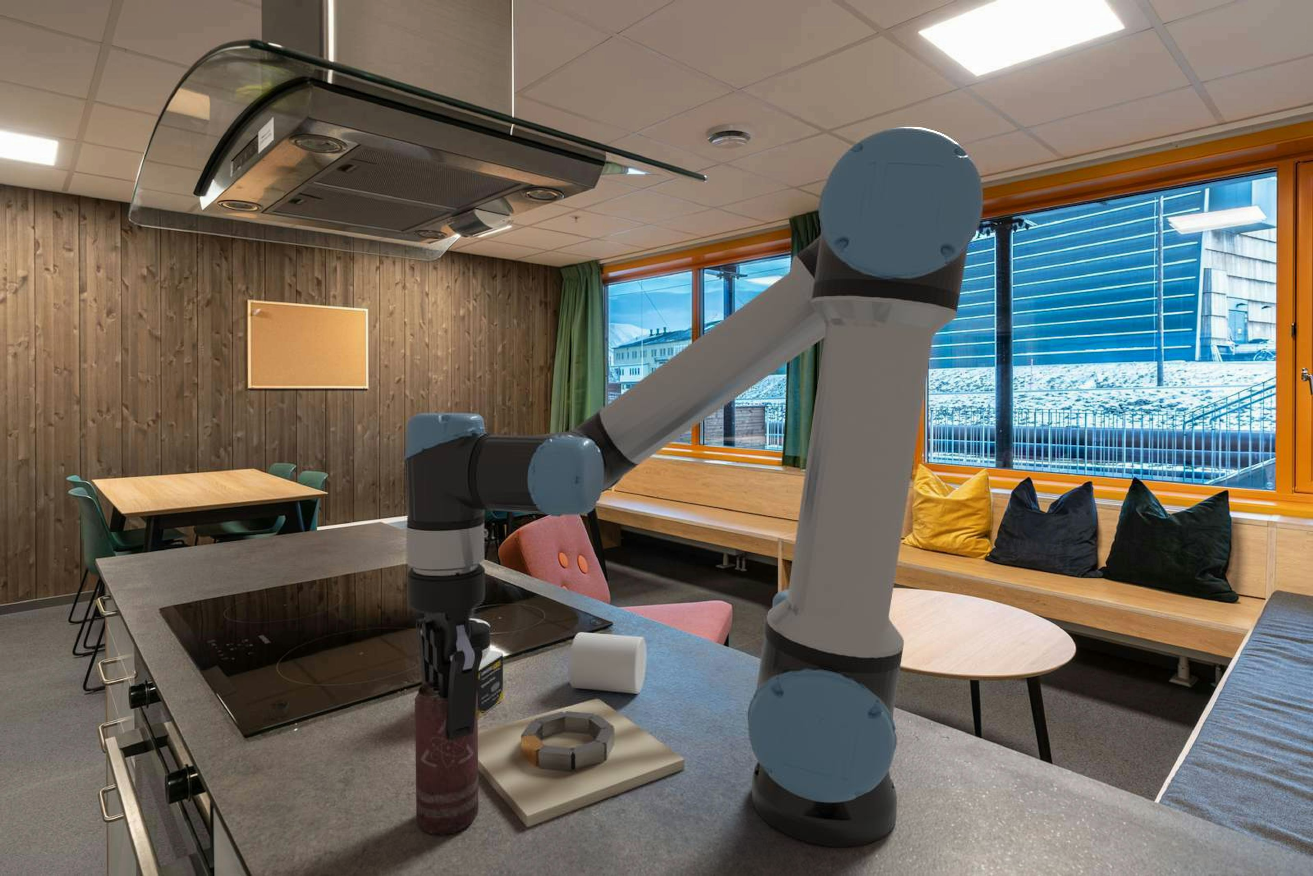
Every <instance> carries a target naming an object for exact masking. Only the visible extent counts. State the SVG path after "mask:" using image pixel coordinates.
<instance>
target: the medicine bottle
mask: <svg viewBox="0 0 1313 876" xmlns="http://www.w3.org/2000/svg"><path fill="white" fill-rule="evenodd" d="M469 620H470V623H471V625H472V630H473V638H472V640H471V642H470V645H471V647H472V648H476V647H480V648H481V650H482V660H481V663H480V667H479V671H478V683H477V693H478V720H479V719H480V718H482V717H483V716H484V715H485V714H487V713H488V712H489V711H491V710H492V709H493V708H495V707H496V706H497V705H498V704H500V703H501V702H502V701H504V653H503V652H502V651H497V650H491V625H490V624H489V623H488V622H487V621H485V620H482V619H480V618H469Z"/></svg>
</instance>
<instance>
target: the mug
mask: <svg viewBox="0 0 1313 876" xmlns="http://www.w3.org/2000/svg"><path fill="white" fill-rule="evenodd" d="M647 651H648V650H647V644H646V640H645V637H643V636H632V635H621V634H619V635H618V634H608V633H607V634H606V633H594V632H593V633H592V632H582V631H580V632H578V633H577V634H575V636H574V638H573V640H572V643H571V646H570V650H569V657H568V681H569V684H570V686H571V687H572V688H574V689H581V690H582V689H585V690H592V691H603V692H604V691H605V692H614V693H615V692H616V693H624V694H625V693H626V694H636V695H637V694H639V693H640V692H641V691H642V689H643V686H644V682H645V678H646V672H647V671H646V670H647V656H648V655H647V653H648V652H647Z"/></svg>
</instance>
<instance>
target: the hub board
mask: <svg viewBox="0 0 1313 876" xmlns="http://www.w3.org/2000/svg"><path fill="white" fill-rule="evenodd" d="M566 711H571V712H582V713H593V714H595V715H599V716H600V717H602V718H603V719H605V720H606V721H607V722H609V723H610V724H611V725H613V726H614V746H613V748H612V750H611V752H610V754H609V756H608V759H607V760H604V762H602V763H599V764H596V765H593V766H590V767H587V768H584V769H581V770H578V771H574V770H573V769H572V771H571V772H566V771H557V770H547V769H539V766H538V767H534V766H533V765H532V764H531V763H530V762H529V761H528V760H527V759H526V758H525V757H524V756H523V755H522V754H521V734H522V733H523V732H524V730H525V729H526V728H527V726H528V725H529V724H530V723H531V721H535V719H537V718H540V717H544V716H547V715H551V714H555V713H558V712H563V713H565V712H566ZM595 740H596V739H594V738H593V737H592V736H591V735H589V734H581V733H571V732H563V733H560V734H557V735H553V736H550V737H546V738H543V739H542V740H541V742H543V743H544V744H545V745H546V746H556V747H566V748H573V747H577V746H580V745H583V744H586V743H589V742H592V741H595ZM685 764H686V763H685V758H684V757H682V756H681V755H680V754H678V753H676V752H675V751H674V750H672V749H671V748H669V747H668V746H666V745H665V744H664V743H663V742H661V741H660V740H658V739H657V738H655V737H654V736H652V735H651V734H650V733H648V732H646V731H645V730H644V729H642V728H641V727H639V726H638V725H637V724H636V723H634V722H632V721H631V720H630V719H628V718H627V717H625V716H624V715H623V714H621V713H619V712H618V711H617V710H615V709H614V708H613V707H611V706H610V705H608V704H606V703H605V702H604V701H602V700H601V699H599V697H598V698H595V699H590V700H586V701H584V702H583V701H582V702H579V703H575V704H573V705H569V706H565V707H561V708H557V709H554V710H551V711H547V712H544V713H540V714H537V715H532V716H529V717H525V718H522V719H518V720H517V719H516V720H514V721H511V722H507V723H503V724H500V725H499V724H498V725H497V726H492V727H489V728H486V729H482V730H478V772H480V774H481V775H482V776H483V777H484V778H485V780H486V781H487V783H489V784H490V786H491V787H492V788H493V790H495V791H496V793H497V794H498V795H499V796H500V797H501V798H502V799H503V801H504V802H505V803H506V804H507V806H508V807H509V808H510V809H511V811H513V813H515V815H516V817H518V818H519V820H520V821H521V822H522V823H523V824H524V825H525V827H527V828H530V827H533V826H536V825H538V824H540V823H544V822H546V821H549V820H551V819H553V818H556V817H559V816H562V815H564V814H568V813H569V812H573V811H575V810H577V809H578V810H579V809H581V808H583V807H587V806H589V805H591V804H594V803H597V802H599V801H602V800H605V799H607V798H610V797H613V796H616V795H618V794H621V793H624V792H626V791H629V790H632V789H634V788H637V787H641V786H642V785H645V784H648V783H650V782H652V781H653V782H654V781H656V780H658V779H661V778H662V779H663V778H664V777H667V776H669V775H672V774H675V773H678V772H680V771H683V770H685Z"/></svg>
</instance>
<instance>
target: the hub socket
mask: <svg viewBox="0 0 1313 876" xmlns="http://www.w3.org/2000/svg"><path fill="white" fill-rule="evenodd" d="M563 732H571V733H581V734H589V735H591V736H592V737H593V738H594V739H596V740H595V741H592V742H589V743H586V744H583V745H580V746H577V747H573V748H566V747H556V746H546V745H545V744H544V743H543V742H541V740H542V739H543V738H546V737H550V736H553V735H557V734H560V733H563ZM613 746H614V726H613V725H611V724H610V723H609V722H607V721H606V720H605V719H603V718H602V717H600V716H599V715H595V714H593V713H582V712H571V711H566V712H565V713H563V712H558V713H555V714H551V715H547V716H544V717H540V718H537V719H535V721H531V723H530V724H529V725H528V726H527V728H526V729H525V730H524V732H523V733H522V734H521V754H522V755H523V756H524V757H525V758H526V759H527V760H528V761H529V762H530V763H531V764H532V765H533V766H534V767H538V766H539V769H547V770H557V771H566V772H571V771H572V769H573V770H574V771H578V770H581V769H584V768H587V767H590V766H593V765H596V764H599V763H602V762H604V760H607V759H608V756H609V754H610V752H611V750H612V748H613Z"/></svg>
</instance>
